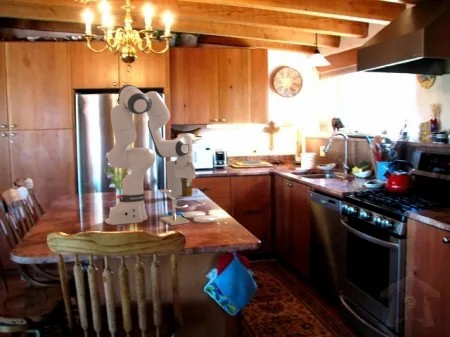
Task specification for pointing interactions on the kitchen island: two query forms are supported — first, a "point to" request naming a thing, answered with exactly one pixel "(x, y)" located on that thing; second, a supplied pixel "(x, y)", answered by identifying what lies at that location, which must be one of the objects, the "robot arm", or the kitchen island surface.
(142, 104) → the robot arm
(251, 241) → the kitchen island surface
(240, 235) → the kitchen island surface
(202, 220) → the near dish
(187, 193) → the condiment
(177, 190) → the cylinder vase
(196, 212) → the far dish
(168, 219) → the balance
